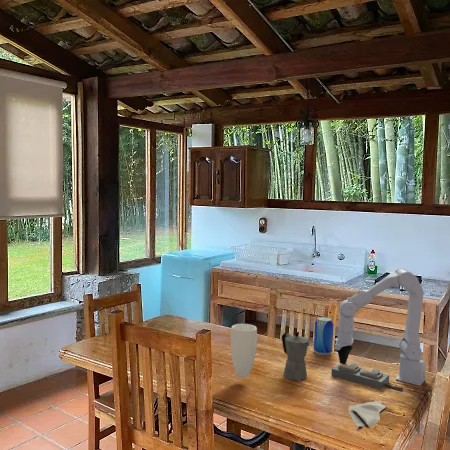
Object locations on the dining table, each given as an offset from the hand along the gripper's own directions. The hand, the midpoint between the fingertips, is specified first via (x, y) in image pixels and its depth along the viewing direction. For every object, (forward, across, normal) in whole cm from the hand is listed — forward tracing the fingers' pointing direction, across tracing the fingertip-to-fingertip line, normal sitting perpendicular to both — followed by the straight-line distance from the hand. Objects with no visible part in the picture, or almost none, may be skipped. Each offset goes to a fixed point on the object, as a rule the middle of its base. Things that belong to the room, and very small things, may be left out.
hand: (342, 363), depth 188 cm
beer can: (+5, -19, -18) cm, 27 cm away
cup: (+6, +34, -26) cm, 43 cm away
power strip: (+4, 0, +11) cm, 12 cm away
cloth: (+5, +27, +21) cm, 34 cm away
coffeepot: (+6, +14, -14) cm, 21 cm away
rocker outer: (+1, 0, +3) cm, 3 cm away
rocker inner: (+1, 0, +12) cm, 12 cm away
